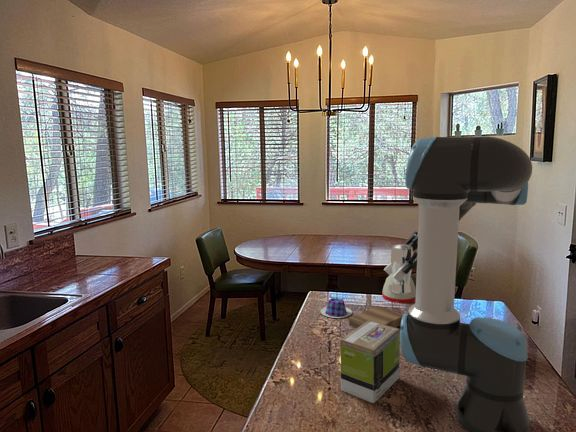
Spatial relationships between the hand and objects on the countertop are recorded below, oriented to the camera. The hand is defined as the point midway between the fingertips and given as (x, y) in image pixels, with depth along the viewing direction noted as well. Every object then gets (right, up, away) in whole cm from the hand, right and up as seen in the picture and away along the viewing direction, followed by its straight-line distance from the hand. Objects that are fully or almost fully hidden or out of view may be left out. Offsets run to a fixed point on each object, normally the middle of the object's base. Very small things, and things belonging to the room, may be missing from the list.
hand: (391, 275), depth 137 cm
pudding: (-15, -18, +24) cm, 34 cm away
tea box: (-12, -26, -24) cm, 37 cm away
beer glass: (+4, -5, +2) cm, 7 cm away
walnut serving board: (-2, -19, +13) cm, 23 cm away
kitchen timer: (+13, -15, +40) cm, 45 cm away
